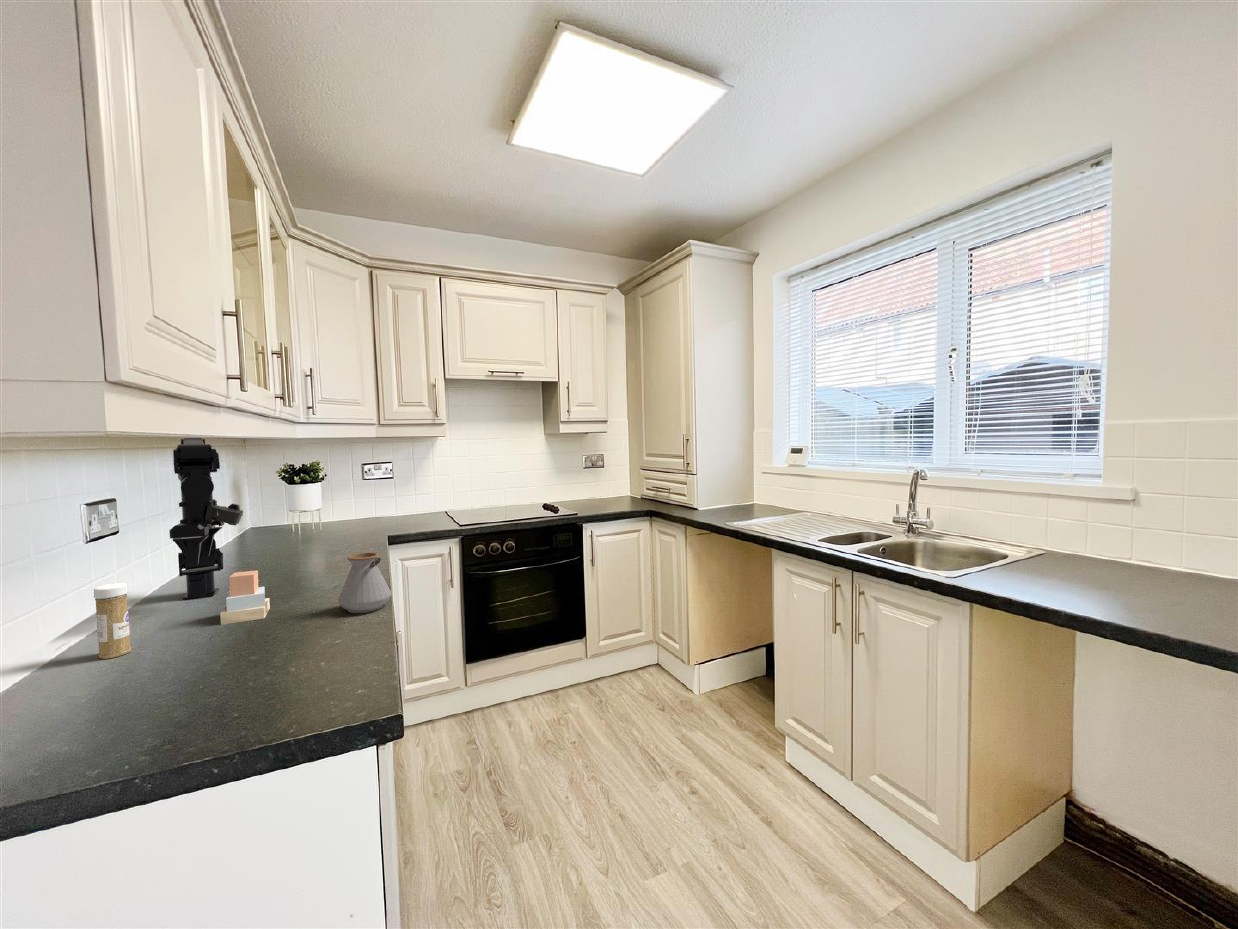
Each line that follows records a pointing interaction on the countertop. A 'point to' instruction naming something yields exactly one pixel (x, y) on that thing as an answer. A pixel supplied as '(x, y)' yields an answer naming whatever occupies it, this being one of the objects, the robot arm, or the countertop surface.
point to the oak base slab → (245, 614)
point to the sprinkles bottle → (112, 620)
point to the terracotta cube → (243, 583)
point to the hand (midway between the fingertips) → (200, 561)
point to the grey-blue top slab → (246, 600)
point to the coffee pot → (364, 585)
